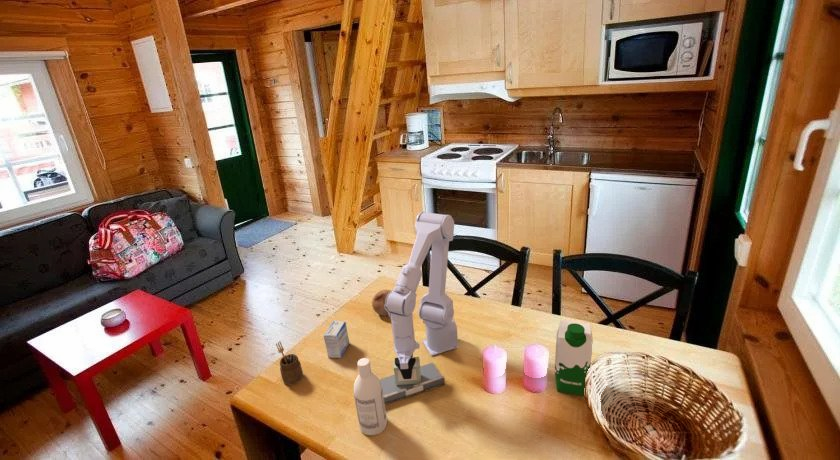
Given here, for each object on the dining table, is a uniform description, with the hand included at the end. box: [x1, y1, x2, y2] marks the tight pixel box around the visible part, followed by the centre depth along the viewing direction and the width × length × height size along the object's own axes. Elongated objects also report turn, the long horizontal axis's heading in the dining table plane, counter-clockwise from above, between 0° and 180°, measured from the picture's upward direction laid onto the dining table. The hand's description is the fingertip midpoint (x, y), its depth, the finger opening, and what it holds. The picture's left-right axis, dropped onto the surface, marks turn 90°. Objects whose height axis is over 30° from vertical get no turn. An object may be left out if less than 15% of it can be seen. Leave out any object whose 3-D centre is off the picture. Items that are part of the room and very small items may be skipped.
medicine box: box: [323, 320, 350, 359], centre depth 130 cm, size 8×4×9 cm, turn 168°
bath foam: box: [352, 357, 388, 436], centre depth 99 cm, size 7×7×20 cm
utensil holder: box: [275, 341, 304, 386], centre depth 118 cm, size 6×6×12 cm
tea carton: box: [393, 356, 421, 385], centre depth 114 cm, size 4×7×6 cm, turn 90°
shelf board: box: [379, 362, 446, 406], centre depth 114 cm, size 20×9×2 cm, turn 110°
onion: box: [371, 289, 393, 317], centre depth 148 cm, size 10×9×10 cm
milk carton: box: [554, 319, 594, 397], centre depth 106 cm, size 9×9×20 cm
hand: (407, 371), depth 114 cm, fingers open, 4 cm apart
